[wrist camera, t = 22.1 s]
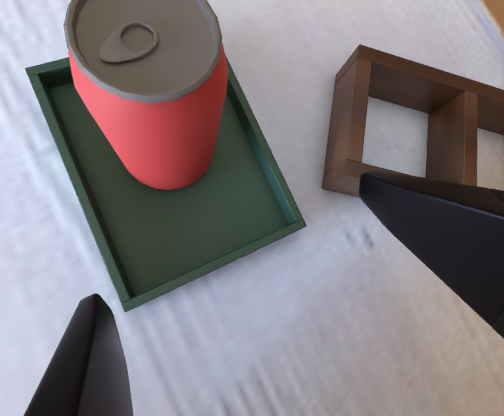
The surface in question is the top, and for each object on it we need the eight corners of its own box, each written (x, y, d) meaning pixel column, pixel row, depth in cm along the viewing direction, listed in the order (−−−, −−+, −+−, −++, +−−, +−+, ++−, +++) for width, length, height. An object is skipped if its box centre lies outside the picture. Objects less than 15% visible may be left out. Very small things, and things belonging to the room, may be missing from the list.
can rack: (526, 235, 29) (578, 230, 25) (321, 188, 25) (345, 174, 21) (523, 130, 31) (570, 110, 27) (335, 74, 28) (359, 43, 24)
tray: (295, 229, 24) (307, 225, 22) (131, 307, 21) (124, 312, 19) (208, 43, 26) (209, 21, 23) (41, 88, 22) (24, 68, 20)
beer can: (101, 140, 22) (3, 0, 10) (175, 92, 24) (162, -73, 12) (160, 210, 22) (127, 148, 10) (230, 158, 24) (269, 54, 12)
